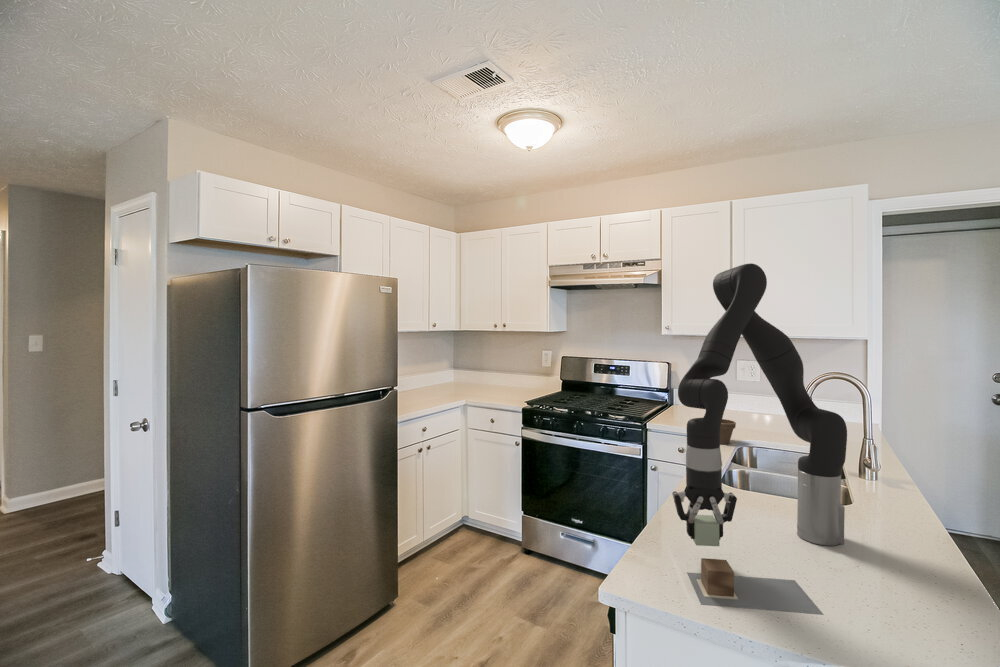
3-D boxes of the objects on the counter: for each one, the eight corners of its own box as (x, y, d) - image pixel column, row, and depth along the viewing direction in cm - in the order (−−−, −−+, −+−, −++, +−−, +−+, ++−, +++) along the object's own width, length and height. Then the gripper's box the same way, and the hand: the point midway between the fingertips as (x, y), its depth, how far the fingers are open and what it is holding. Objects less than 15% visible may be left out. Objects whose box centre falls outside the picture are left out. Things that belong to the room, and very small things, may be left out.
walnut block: (726, 583, 101) (726, 559, 100) (733, 596, 96) (734, 572, 96) (701, 581, 101) (701, 558, 101) (707, 594, 96) (707, 570, 96)
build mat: (794, 582, 102) (794, 579, 102) (823, 617, 90) (823, 613, 90) (686, 575, 105) (686, 571, 105) (701, 607, 93) (701, 603, 93)
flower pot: (734, 440, 221) (734, 419, 220) (736, 447, 210) (737, 424, 210) (707, 438, 225) (707, 417, 225) (708, 444, 214) (708, 422, 214)
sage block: (713, 536, 112) (712, 515, 112) (719, 546, 107) (719, 524, 107) (690, 535, 113) (690, 514, 113) (696, 545, 108) (695, 523, 108)
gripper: (731, 460, 112) (732, 531, 112) (667, 459, 114) (668, 529, 114) (742, 470, 105) (743, 546, 105) (674, 469, 107) (675, 544, 107)
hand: (704, 537), depth 110 cm, fingers closed on sage block, 5 cm apart
